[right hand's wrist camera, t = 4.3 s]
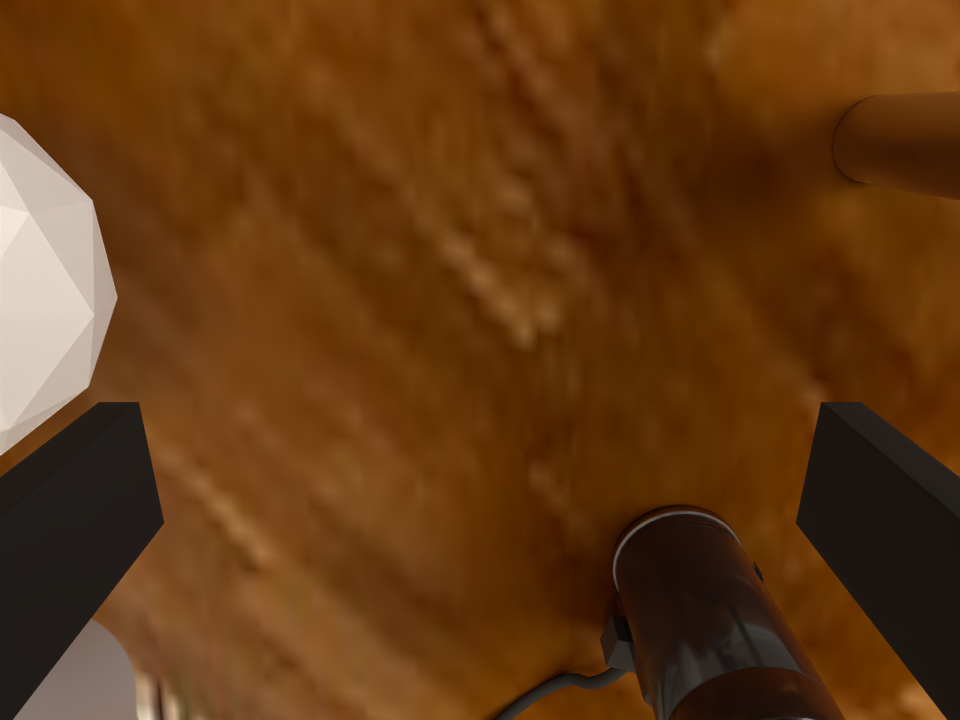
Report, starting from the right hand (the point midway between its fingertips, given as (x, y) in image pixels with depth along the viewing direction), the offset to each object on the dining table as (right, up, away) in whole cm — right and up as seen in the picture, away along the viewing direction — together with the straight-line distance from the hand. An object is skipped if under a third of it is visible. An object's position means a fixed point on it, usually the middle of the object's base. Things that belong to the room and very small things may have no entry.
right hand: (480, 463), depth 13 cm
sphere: (-28, +9, +26) cm, 40 cm away
